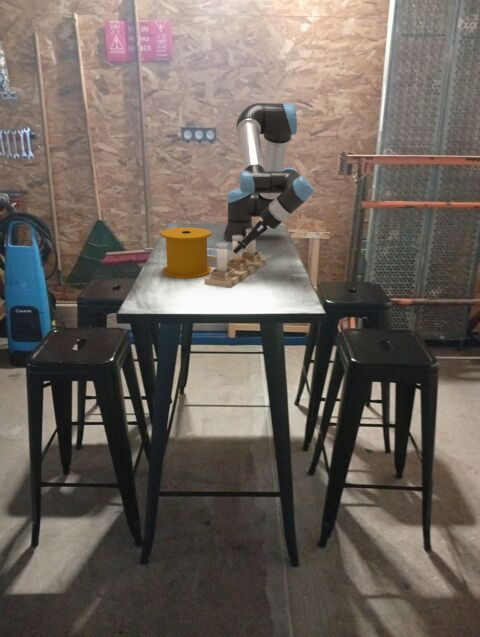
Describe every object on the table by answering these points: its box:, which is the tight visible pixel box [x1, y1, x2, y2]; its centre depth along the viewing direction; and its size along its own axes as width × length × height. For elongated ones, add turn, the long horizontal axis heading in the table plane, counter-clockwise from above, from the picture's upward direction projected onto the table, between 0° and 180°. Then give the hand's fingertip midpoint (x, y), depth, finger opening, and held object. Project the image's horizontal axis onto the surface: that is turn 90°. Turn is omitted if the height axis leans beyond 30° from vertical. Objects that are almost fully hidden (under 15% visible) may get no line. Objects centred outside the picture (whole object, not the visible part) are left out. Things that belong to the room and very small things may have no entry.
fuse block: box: [204, 250, 267, 288], centre depth 180 cm, size 34×10×4 cm, turn 156°
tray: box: [207, 247, 231, 268], centre depth 193 cm, size 11×11×4 cm
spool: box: [161, 227, 212, 279], centre depth 179 cm, size 18×18×15 cm
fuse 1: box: [216, 241, 229, 273], centre depth 167 cm, size 4×4×12 cm
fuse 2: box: [245, 227, 257, 256], centre depth 189 cm, size 4×4×12 cm
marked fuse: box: [232, 235, 243, 264], centre depth 178 cm, size 4×4×12 cm
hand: (233, 253), depth 178 cm, fingers open, 13 cm apart
